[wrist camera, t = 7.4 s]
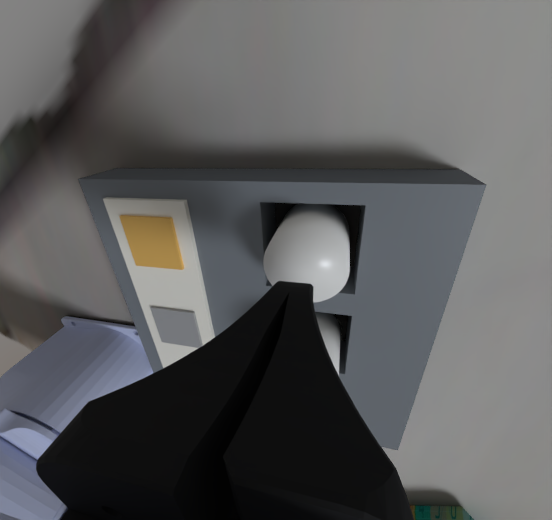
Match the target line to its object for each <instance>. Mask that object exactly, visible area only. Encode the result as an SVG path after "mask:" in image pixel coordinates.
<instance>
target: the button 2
mask: <svg viewBox="0 0 552 520" xmlns="http://www.w3.org/2000/svg"><path fill="white" fill-rule="evenodd" d="M263 265H264V271H265V274H266V276H267V278H268V280H269V282H270V283H271V285H272V286H273V285H274V284H275V283H276V282H278V281H287V282H297V283H308V284H311V285H312V286H313V287H314V288H313V303H314V302H321V301H324V300H327V299H329V298H331V297H333V296H335V295H336V294H337V293H339V292H340V291H341V290H342V288H343V287H344V286H345V284H346V282H347V280H348V277H349V272H350V231H349V225H348V222H347V219H346V218H345V216H344V214H343V213H342V212H341V211H340V210H339V209H338V208H337V207H335V206H334V205H332V204H306V203H299V204H297V205H295V206H294V207H292V208H291V209H290V210H289V211H288V212H287V214H286V215H285V217H284V218H283V220H282V222H281V224H280V225H279V227H278V229H277V231H276V233H275V234H274V236H273V238H272V240H271V241H270V243H269V245H268V247H267V249H266V251H265V254H264V260H263Z"/></svg>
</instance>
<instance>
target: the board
mask: <svg viewBox="0 0 552 520" xmlns="http://www.w3.org/2000/svg"><path fill="white" fill-rule="evenodd" d="M78 180H79V183H80V185H81V188H82V190H83V193H84V195H85V198H86V201H87V203H88V206H89V208H90V211H91V213H92V216H93V219H94V221H95V224H96V226H97V229H98V231H99V234H100V237H101V239H102V242H103V244H104V247H105V249H106V252H107V255H108V257H109V260H110V262H111V265H112V268H113V270H114V273H115V275H116V278H117V280H118V283H119V286H120V288H121V291H122V293H123V296H124V298H125V301H126V304H127V306H128V309H129V311H130V314H131V316H132V319H133V322H134V324H135V327H136V329H137V332H138V334H139V337H140V340H141V342H142V345H143V347H144V350H145V352H146V355H147V358H148V360H149V363H150V365H151V368H152V370H153V373H155V372H157V371H159V370H161V369H163V368H165V367H167V366H169V365H171V364H172V363H174V362H176V361H178V360H180V359H181V358H183V357H185V356H186V355H188V354H190V353H191V352H193V351H195V350H196V349H198V348H200V347H201V346H203V345H204V344H206V343H207V342H209V341H210V340H212V339H213V338H215V337H216V336H217V335H219V334H220V333H221V332H223V331H224V330H225V329H227V328H228V327H229V326H230V325H232V324H233V323H234V322H235V321H236V320H238V319H239V318H240V317H241V316H242V315H243V314H245V313H246V312H247V311H248V310H249V309H250V308H251V307H252V306H253V305H254V304H255V303H256V302H258V301H259V300H260V299H261V298H262V297H263V296H264V295H265V294H266V293H267V292H268V290H269V289H270V288H271V287H272V285H271V283H270V282H269V280H268V278H267V276H266V274H265V271H264V265H263V260H264V254H265V251H266V249H267V247H268V245H269V243H270V241H271V240H272V238H273V236H274V234H275V233H276V219H275V203H306V204H338V205H361V209H360V218H359V227H358V236H357V244H356V253H355V262H354V267H352V266H350V272H349V277H348V280H347V282H346V284H345V286H344V287H343V288H342V290H341V291H340V292H339V293H337V294H336V295H335V296H333V297H331V298H329V299H327V300H324V301H321V302H314V309H315V312H323V313H332V314H340V315H348V323H347V331H346V340H345V341H342V340H340V359H339V378H340V380H341V382H342V383H343V385H344V387H345V389H346V391H347V392H348V394H349V396H350V398H351V400H352V401H353V403H354V405H355V407H356V409H357V410H358V412H359V413H360V415H361V417H362V418H363V420H364V422H365V423H366V425H367V426H368V428H369V430H370V431H371V433H372V434H373V436H374V437H375V439H376V440H377V442H378V443H379V445H380V446H381V447H385V448H390V449H395V450H398V448H399V445H400V442H401V439H402V436H403V433H404V430H405V427H406V424H407V421H408V418H409V415H410V412H411V409H412V406H413V403H414V400H415V397H416V394H417V391H418V388H419V385H420V382H421V379H422V376H423V373H424V370H425V367H426V364H427V361H428V358H429V355H430V352H431V349H432V346H433V343H434V340H435V337H436V334H437V331H438V328H439V325H440V322H441V319H442V316H443V313H444V310H445V307H446V304H447V301H448V298H449V295H450V292H451V289H452V286H453V283H454V280H455V277H456V274H457V271H458V268H459V265H460V262H461V259H462V256H463V253H464V250H465V247H466V244H467V241H468V238H469V235H470V232H471V229H472V226H473V223H474V220H475V217H476V214H477V211H478V208H479V205H480V202H481V199H482V196H483V193H484V190H485V187H486V184H484V183H482V182H481V181H479V180H477V179H476V178H474V177H472V176H471V175H469V174H467V173H466V172H464V171H462V170H460V169H182V168H116V169H112V170H109V171H105V172H102V173H98V174H94V175H91V176H87V177H84V178H80V179H78Z"/></svg>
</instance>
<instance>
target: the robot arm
mask: <svg viewBox="0 0 552 520" xmlns="http://www.w3.org/2000/svg"><path fill="white" fill-rule="evenodd" d="M313 288H314V287H313V286H312V285H311V284H308V283H297V282H287V281H278V282H276V283H275V284H274V285H273V286H272V287H271V288H270V289H269V290H268V292H267V293H266V294H265V295H264V296H263V297H262V298H261V299H260V300H259V301H258V302H256V303H255V304H254V305H253V306H252V307H251V308H250V309H249V310H248V311H247V312H246V313H245V314H243V315H242V316H241V317H240V318H239V319H238V320H236V321H235V322H234V323H233V324H232V325H230V326H229V327H228V328H227V329H225V330H224V331H223V332H221V333H220V334H219V335H217V336H216V337H215V338H213V339H212V340H210V341H209V342H207V343H206V344H204V345H203V346H201V347H200V348H198V349H196V350H195V351H193V352H191V353H190V354H188V355H186V356H185V357H183V358H181V359H180V360H178V361H176V362H174V363H172V364H171V365H169V366H167V367H165V368H163V369H161V370H159V371H157V372H155V373H153V370H152V368H151V365H150V363H149V360H148V358H147V355H146V352H145V350H144V347H143V345H142V342H141V340H140V337H139V334H138V332H137V329H136V327H135V326H129V325H122V324H116V323H109V322H102V321H96V320H89V319H82V318H75V317H69V316H65V317H63V318H62V319H61V321H62V323H63V325H64V327H63V328H61V329H60V330H59V331H58V332H56V333H55V334H54V335H52V336H51V337H50V338H49V339H47V340H46V341H45V342H44V343H42V344H41V345H40V346H38V347H37V348H36V349H35V350H33V351H32V352H31V353H30V354H28V355H27V356H26V357H24V358H23V359H22V360H21V361H19V362H18V363H17V364H16V365H14V366H13V367H12V368H10V369H9V370H8V371H7V372H6V373H5V374H3V376H1V378H0V520H414V518H413V514H412V511H411V508H410V505H409V502H408V499H407V496H406V493H405V491H404V488H403V485H402V483H401V480H400V477H399V475H398V472H397V470H396V468H395V466H394V465H393V463H392V462H391V461H390V459H389V458H388V456H387V455H386V453H385V452H384V451H383V449H382V448H381V446H380V445H379V443H378V442H377V440H376V439H375V437H374V436H373V434H372V433H371V431H370V430H369V428H368V426H367V425H366V423H365V422H364V420H363V418H362V417H361V415H360V413H359V412H358V410H357V409H356V407H355V405H354V403H353V401H352V400H351V398H350V396H349V394H348V392H347V391H346V389H345V387H344V385H343V383H342V382H341V380H340V378H339V375H338V373H337V371H336V369H335V367H334V365H333V363H332V360H331V358H330V356H329V354H328V351H327V349H326V346H325V343H324V341H323V338H322V335H321V332H320V329H319V325H318V322H317V318H316V314H315V309H314V303H313Z"/></svg>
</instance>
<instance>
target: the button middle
mask: <svg viewBox="0 0 552 520" xmlns="http://www.w3.org/2000/svg"><path fill="white" fill-rule="evenodd" d="M315 314H316V318H317V322H318V325H319V329H320V332H321V335H322V338H323V341H324V343H325V346H326V349H327V351H328V354H329V356H330V358H331V360H332V363H333V365H334V367H335V369H336V371H337V373H338V375H339V359H340V325H339V322H338V321H337V319H336V318H335V317H334V315H333V314H331V313H323V312H315Z"/></svg>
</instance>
